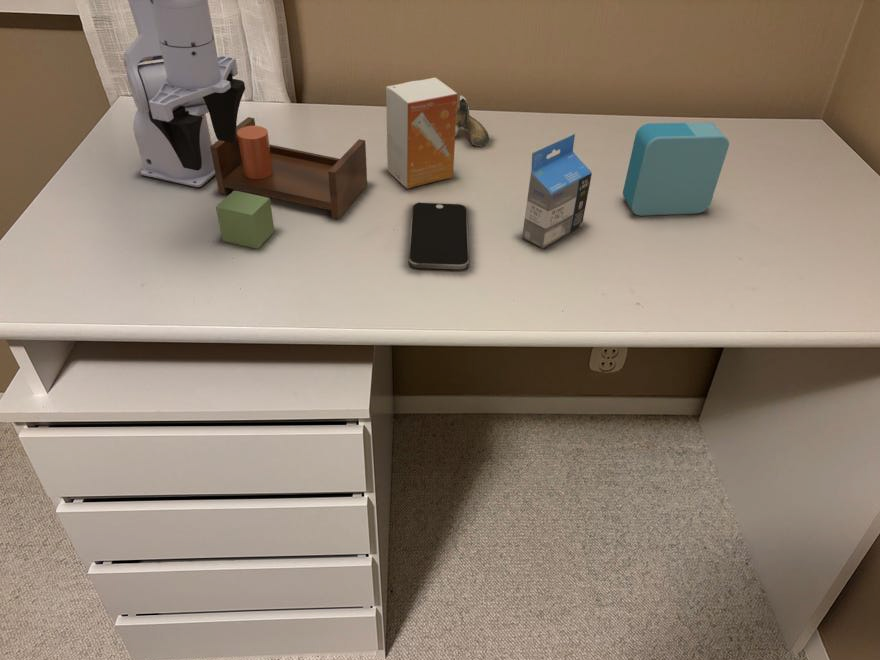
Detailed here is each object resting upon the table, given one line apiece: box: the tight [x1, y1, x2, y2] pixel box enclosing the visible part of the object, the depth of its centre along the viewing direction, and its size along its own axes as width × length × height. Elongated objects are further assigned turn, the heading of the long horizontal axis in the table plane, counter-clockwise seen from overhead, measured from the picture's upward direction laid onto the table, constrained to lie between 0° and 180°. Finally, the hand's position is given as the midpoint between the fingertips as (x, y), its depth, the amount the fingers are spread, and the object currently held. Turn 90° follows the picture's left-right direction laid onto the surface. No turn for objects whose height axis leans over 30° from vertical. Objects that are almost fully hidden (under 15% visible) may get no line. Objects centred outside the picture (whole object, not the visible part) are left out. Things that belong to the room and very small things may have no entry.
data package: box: [622, 121, 730, 217], centre depth 102 cm, size 12×4×12 cm, turn 100°
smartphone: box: [408, 202, 470, 270], centre depth 96 cm, size 8×1×15 cm
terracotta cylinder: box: [237, 125, 273, 180], centre depth 99 cm, size 4×4×6 cm
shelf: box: [210, 116, 368, 220], centre depth 101 cm, size 10×18×7 cm, turn 74°
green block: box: [215, 189, 275, 250], centre depth 92 cm, size 5×4×5 cm
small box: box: [385, 77, 458, 190], centre depth 104 cm, size 8×6×13 cm
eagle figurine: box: [455, 95, 490, 148], centre depth 117 cm, size 8×7×9 cm
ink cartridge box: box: [521, 133, 593, 249], centre depth 95 cm, size 9×4×12 cm, turn 137°
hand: (209, 153), depth 88 cm, fingers open, 7 cm apart
